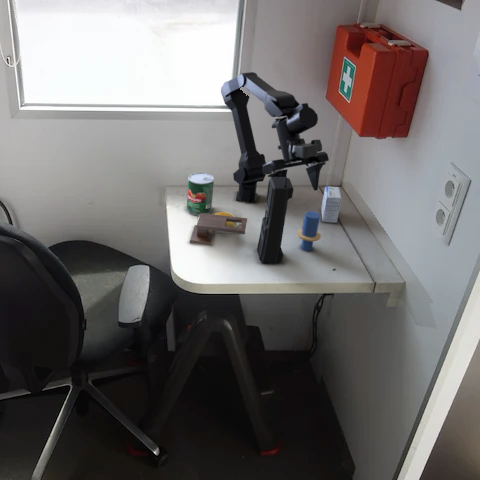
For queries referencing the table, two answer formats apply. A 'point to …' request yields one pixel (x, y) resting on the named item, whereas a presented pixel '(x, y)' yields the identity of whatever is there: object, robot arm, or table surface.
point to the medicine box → (331, 204)
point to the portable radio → (274, 220)
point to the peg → (309, 230)
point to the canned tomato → (200, 193)
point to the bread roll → (230, 224)
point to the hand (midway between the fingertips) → (302, 193)
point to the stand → (214, 227)
